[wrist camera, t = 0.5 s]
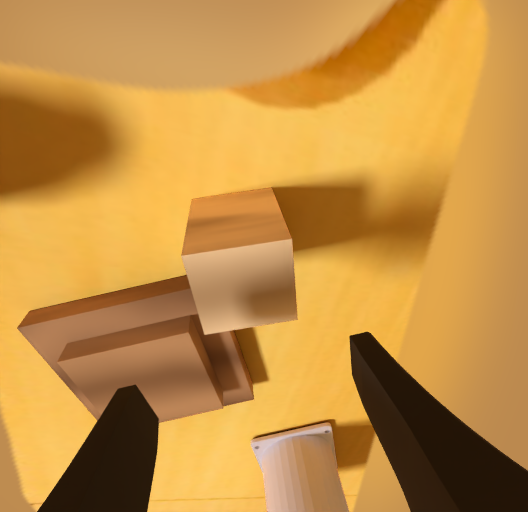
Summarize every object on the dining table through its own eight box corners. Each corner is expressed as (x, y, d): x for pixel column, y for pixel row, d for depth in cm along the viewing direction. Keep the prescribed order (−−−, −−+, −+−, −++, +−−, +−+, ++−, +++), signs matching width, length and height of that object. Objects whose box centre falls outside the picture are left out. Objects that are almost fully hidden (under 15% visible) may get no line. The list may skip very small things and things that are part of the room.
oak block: (278, 254, 21) (297, 319, 16) (207, 265, 20) (204, 334, 15) (271, 187, 18) (292, 238, 13) (191, 198, 18) (181, 256, 13)
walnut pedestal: (252, 383, 27) (255, 417, 24) (113, 414, 27) (102, 452, 25) (212, 269, 20) (211, 299, 18) (29, 311, 21) (2, 347, 18)
